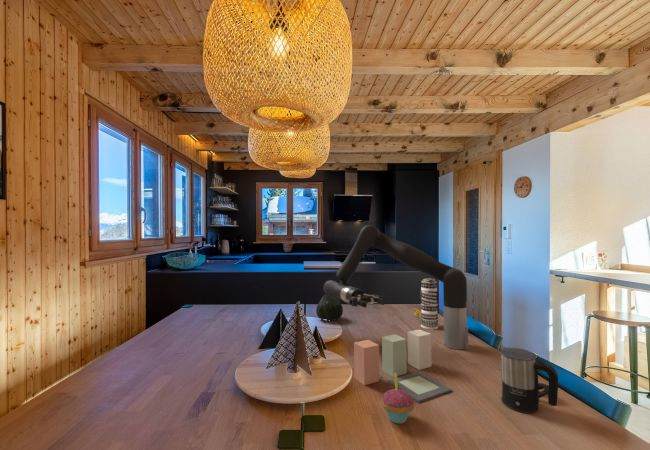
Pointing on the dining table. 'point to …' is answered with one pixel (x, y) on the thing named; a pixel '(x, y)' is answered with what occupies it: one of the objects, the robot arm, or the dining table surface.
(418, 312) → the bread roll
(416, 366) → the cream block
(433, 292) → the decorative candle
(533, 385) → the milk frother
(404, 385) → the slate mat
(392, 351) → the sage block
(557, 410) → the dining table surface
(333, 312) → the squash
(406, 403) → the cupcake
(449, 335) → the robot arm
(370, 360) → the terracotta block
